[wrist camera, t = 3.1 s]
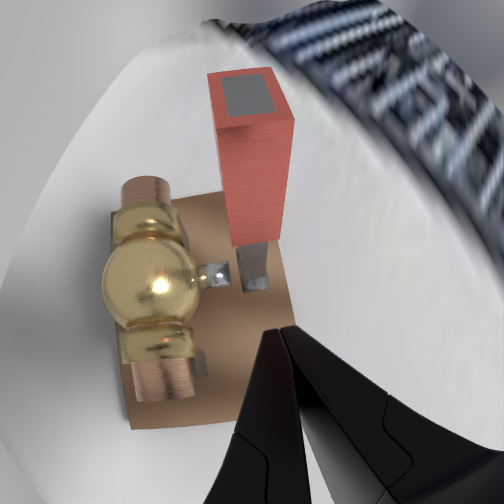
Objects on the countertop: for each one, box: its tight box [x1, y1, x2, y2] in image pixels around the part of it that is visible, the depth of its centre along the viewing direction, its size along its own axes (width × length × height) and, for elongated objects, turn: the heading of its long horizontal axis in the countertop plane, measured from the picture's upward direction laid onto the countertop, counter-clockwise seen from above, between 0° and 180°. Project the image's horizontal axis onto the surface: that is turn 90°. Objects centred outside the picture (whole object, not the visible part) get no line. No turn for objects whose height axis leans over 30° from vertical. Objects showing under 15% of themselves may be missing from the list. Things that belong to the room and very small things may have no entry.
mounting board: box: [111, 191, 296, 430], centre depth 21 cm, size 16×12×1 cm
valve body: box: [102, 176, 232, 402], centre depth 17 cm, size 11×6×8 cm, turn 10°
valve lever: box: [207, 67, 295, 294], centre depth 11 cm, size 2×2×11 cm
